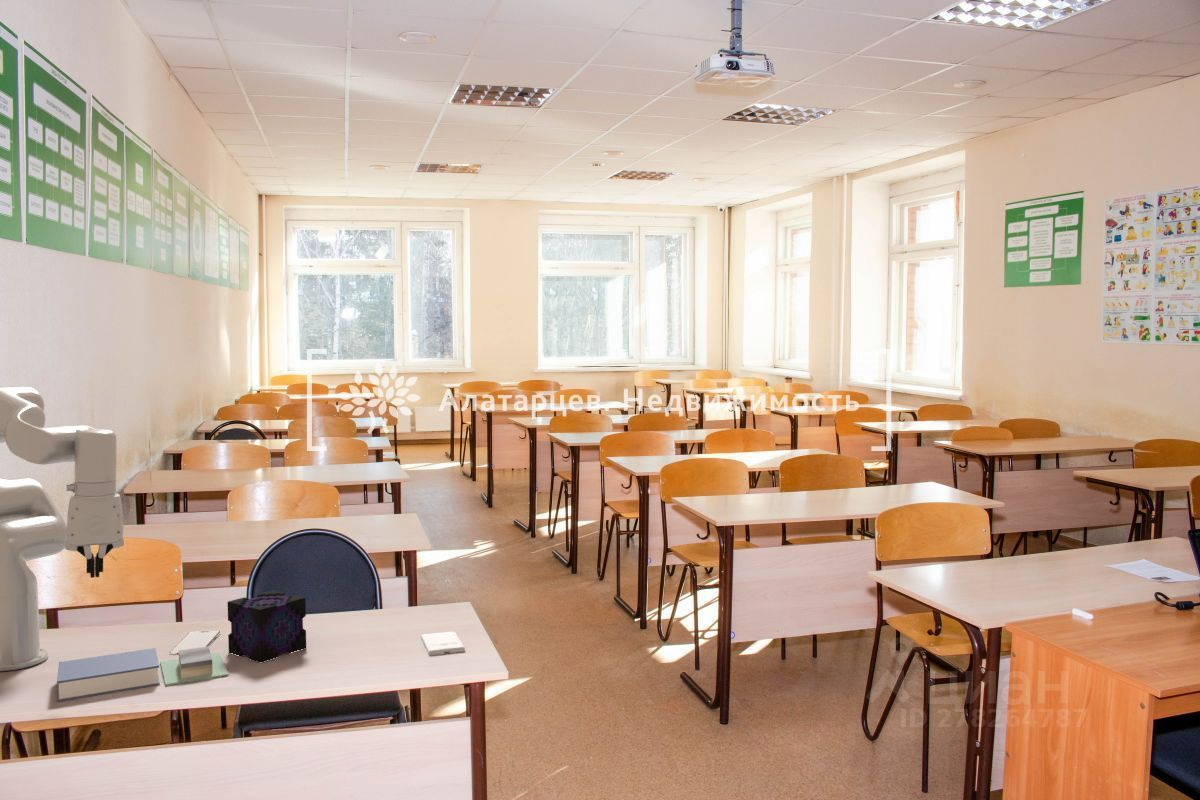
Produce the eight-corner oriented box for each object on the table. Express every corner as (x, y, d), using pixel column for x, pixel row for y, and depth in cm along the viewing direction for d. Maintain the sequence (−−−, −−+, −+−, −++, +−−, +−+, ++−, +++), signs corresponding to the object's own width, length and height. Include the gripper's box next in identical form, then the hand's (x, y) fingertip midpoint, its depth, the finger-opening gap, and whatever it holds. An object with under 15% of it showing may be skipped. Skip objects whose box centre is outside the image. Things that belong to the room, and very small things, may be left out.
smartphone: (167, 653, 203) (189, 631, 218) (168, 658, 203) (190, 635, 218) (201, 651, 204) (221, 630, 219) (201, 656, 204) (221, 634, 219)
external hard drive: (455, 637, 216) (464, 653, 204) (420, 641, 213) (428, 657, 202) (455, 630, 216) (464, 646, 204) (420, 634, 213) (428, 650, 202)
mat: (160, 663, 197) (160, 661, 197) (219, 654, 203) (219, 652, 203) (165, 686, 183) (165, 684, 183) (228, 675, 189) (228, 673, 189)
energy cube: (274, 639, 214) (273, 590, 213) (306, 648, 207) (305, 597, 207) (228, 653, 204) (227, 601, 203) (260, 663, 197) (259, 609, 197)
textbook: (59, 681, 187) (58, 662, 186) (155, 666, 195) (155, 648, 195) (57, 701, 175) (56, 681, 175) (159, 684, 184) (159, 665, 184)
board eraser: (208, 646, 198) (208, 659, 198) (178, 650, 195) (179, 664, 196) (212, 659, 189) (212, 673, 189) (180, 664, 187) (181, 678, 187)
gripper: (53, 494, 179) (52, 584, 180) (137, 490, 186) (136, 577, 188) (53, 487, 185) (53, 575, 186) (134, 484, 193) (133, 568, 194)
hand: (94, 575), depth 187 cm, fingers closed
